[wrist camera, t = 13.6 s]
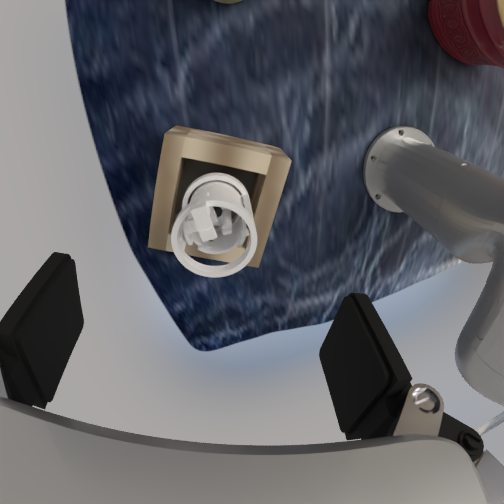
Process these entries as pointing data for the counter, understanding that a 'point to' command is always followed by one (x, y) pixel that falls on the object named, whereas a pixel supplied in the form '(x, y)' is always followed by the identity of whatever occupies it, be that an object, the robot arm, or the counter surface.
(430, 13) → the canister
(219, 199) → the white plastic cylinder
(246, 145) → the beech holder block
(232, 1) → the flower pot
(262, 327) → the counter surface
